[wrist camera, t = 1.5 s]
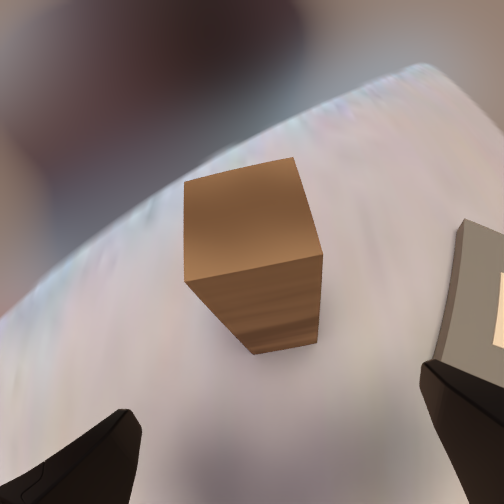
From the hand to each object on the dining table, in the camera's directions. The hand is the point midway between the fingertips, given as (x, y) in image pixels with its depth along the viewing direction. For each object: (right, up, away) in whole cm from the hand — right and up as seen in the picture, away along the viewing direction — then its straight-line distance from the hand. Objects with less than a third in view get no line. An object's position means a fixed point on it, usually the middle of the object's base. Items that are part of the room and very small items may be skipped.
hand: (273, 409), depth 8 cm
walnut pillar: (+1, -1, +14) cm, 14 cm away
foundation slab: (+21, -2, +10) cm, 23 cm away
